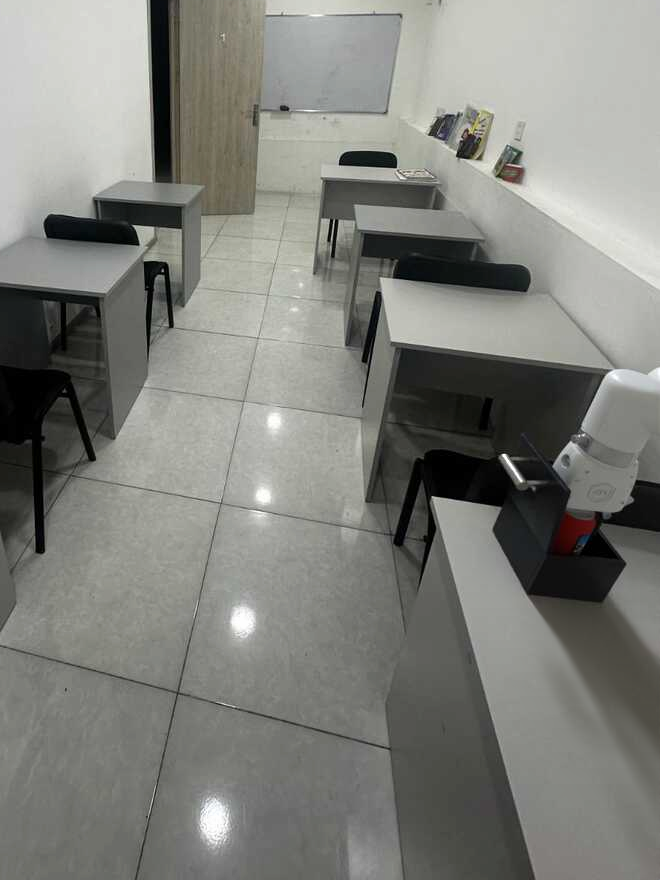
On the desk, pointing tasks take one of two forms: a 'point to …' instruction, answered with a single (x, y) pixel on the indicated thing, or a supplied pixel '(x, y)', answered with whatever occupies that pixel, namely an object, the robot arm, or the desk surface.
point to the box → (557, 561)
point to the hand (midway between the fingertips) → (564, 525)
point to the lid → (550, 494)
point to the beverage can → (574, 531)
